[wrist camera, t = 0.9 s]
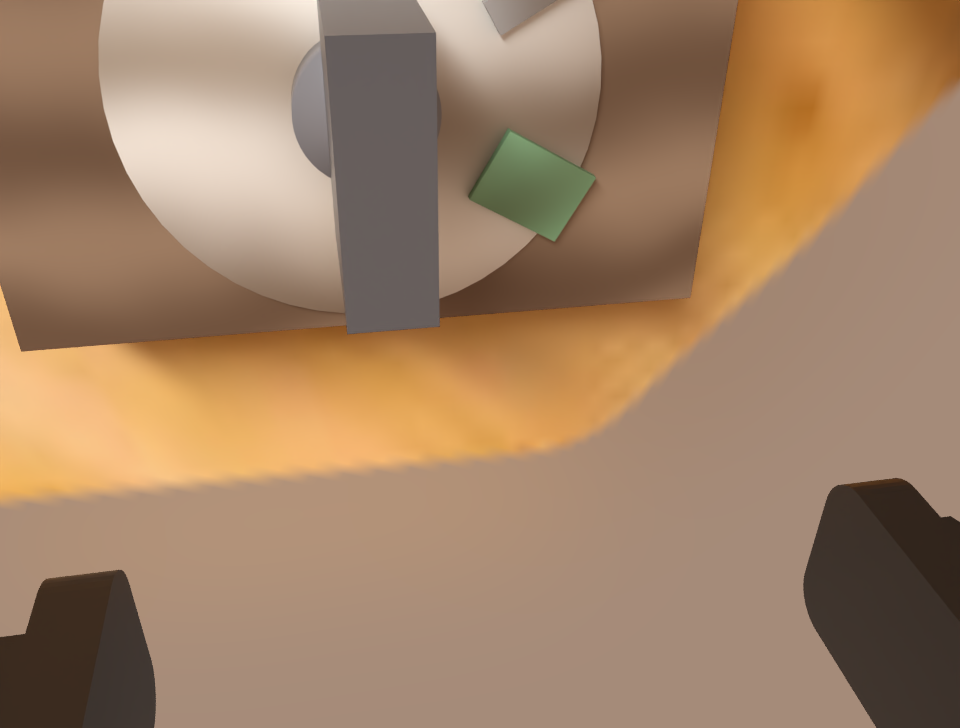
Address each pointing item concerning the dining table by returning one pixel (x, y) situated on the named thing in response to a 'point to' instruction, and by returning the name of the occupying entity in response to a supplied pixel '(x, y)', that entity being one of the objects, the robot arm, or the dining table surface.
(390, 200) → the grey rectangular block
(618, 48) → the tuner box
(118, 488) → the dining table surface
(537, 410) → the dining table surface
